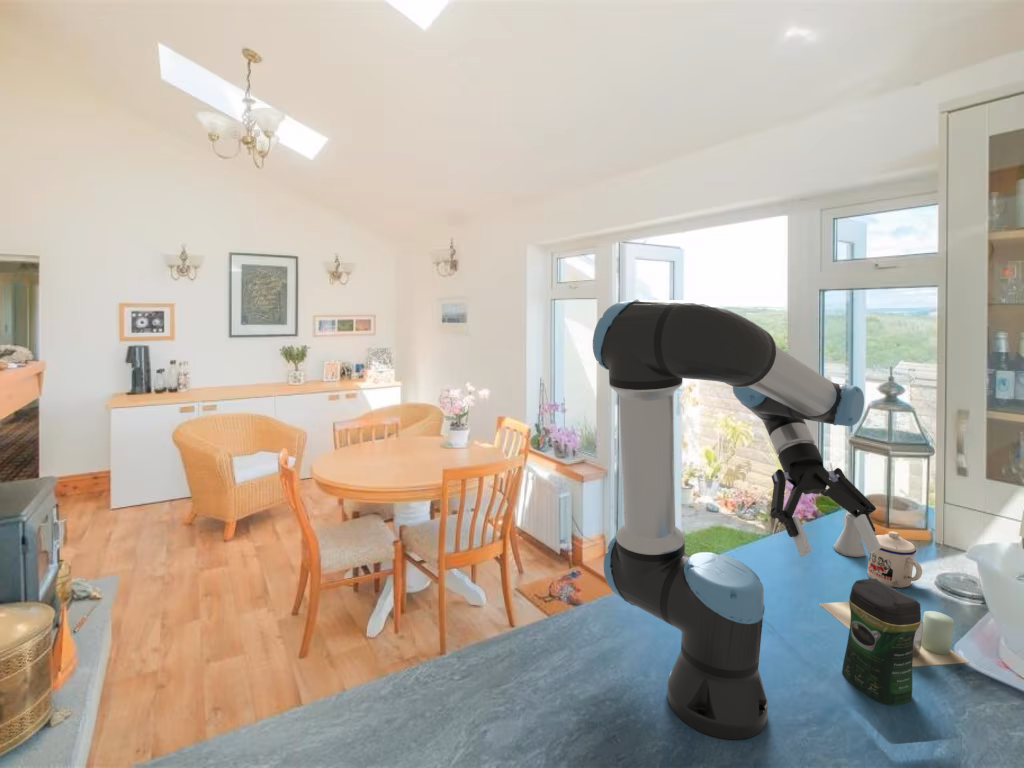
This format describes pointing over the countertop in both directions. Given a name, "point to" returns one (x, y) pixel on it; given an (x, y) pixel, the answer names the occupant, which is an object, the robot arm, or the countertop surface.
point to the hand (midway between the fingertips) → (840, 552)
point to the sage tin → (937, 632)
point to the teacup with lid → (893, 561)
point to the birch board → (924, 659)
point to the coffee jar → (881, 641)
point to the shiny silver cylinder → (918, 640)
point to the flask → (850, 540)
